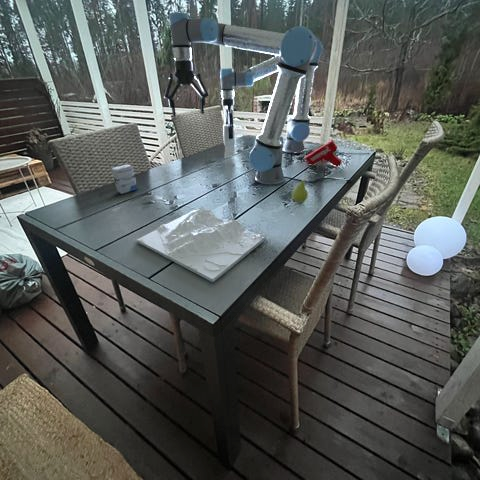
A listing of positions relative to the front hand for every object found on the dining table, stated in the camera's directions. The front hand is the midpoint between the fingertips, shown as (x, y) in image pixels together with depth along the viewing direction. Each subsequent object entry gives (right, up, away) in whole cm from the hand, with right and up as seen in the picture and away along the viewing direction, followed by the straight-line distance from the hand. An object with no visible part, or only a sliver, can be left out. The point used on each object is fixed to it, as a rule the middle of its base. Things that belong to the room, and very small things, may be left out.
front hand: (188, 114), depth 127 cm
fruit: (+51, -42, -5) cm, 66 cm away
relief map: (+11, -59, -32) cm, 68 cm away
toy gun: (+74, -14, +38) cm, 84 cm away
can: (+17, +5, +53) cm, 56 cm away
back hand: (+17, +8, +50) cm, 54 cm away
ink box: (-32, -34, +7) cm, 47 cm away
